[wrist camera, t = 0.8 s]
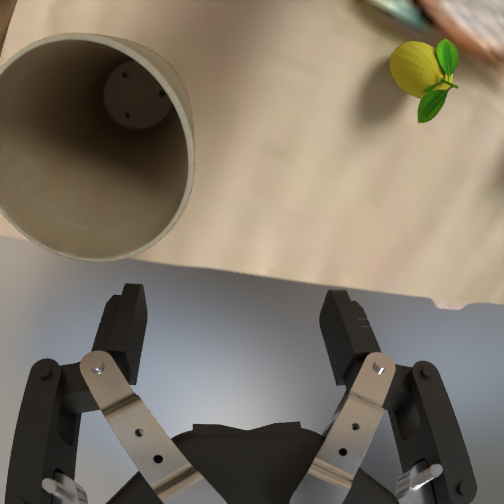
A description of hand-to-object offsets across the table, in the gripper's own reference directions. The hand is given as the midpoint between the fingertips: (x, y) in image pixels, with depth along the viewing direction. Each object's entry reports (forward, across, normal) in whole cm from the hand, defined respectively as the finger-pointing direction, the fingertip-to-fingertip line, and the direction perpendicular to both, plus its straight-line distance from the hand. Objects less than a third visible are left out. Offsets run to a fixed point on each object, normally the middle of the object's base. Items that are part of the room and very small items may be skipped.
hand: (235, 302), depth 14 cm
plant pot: (+22, +9, -5) cm, 25 cm away
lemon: (+21, -16, -12) cm, 29 cm away
